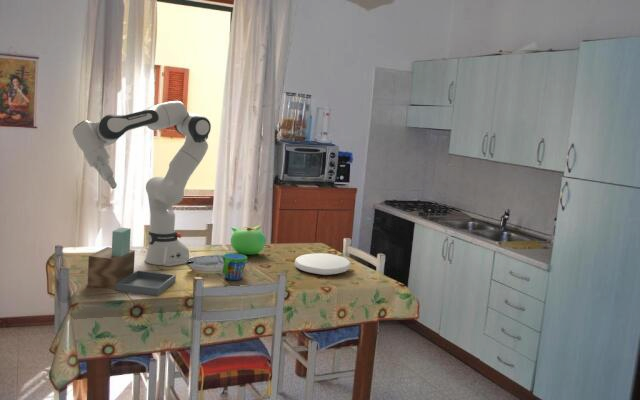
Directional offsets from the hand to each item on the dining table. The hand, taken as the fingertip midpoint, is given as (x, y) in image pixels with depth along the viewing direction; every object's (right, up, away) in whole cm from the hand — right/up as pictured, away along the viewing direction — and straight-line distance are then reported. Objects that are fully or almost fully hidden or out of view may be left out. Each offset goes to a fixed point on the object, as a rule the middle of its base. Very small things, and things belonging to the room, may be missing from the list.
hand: (114, 187), depth 254 cm
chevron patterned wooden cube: (+1, -39, -8) cm, 39 cm away
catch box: (+16, -40, -10) cm, 44 cm away
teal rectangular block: (+6, -27, -10) cm, 30 cm away
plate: (+87, -40, +42) cm, 105 cm away
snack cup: (+48, -40, +12) cm, 64 cm away
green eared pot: (+49, -33, +57) cm, 82 cm away
